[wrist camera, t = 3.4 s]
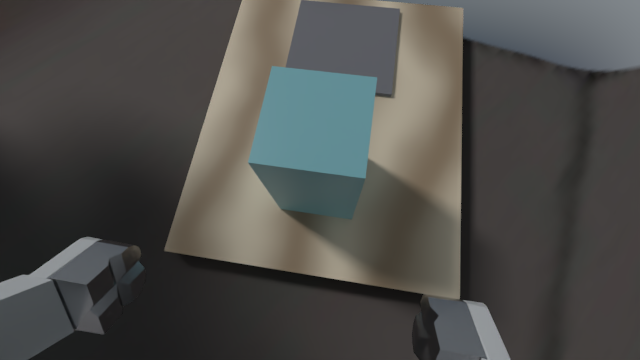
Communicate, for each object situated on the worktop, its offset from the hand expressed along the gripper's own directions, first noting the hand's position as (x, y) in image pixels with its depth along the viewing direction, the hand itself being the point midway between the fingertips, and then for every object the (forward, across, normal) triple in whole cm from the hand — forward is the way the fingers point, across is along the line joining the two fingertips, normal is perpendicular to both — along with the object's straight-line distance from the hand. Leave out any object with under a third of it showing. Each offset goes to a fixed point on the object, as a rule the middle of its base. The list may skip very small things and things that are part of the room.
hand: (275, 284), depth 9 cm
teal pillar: (+12, 0, +2) cm, 12 cm away
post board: (+16, 0, 0) cm, 16 cm away
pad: (+19, 0, -5) cm, 20 cm away
